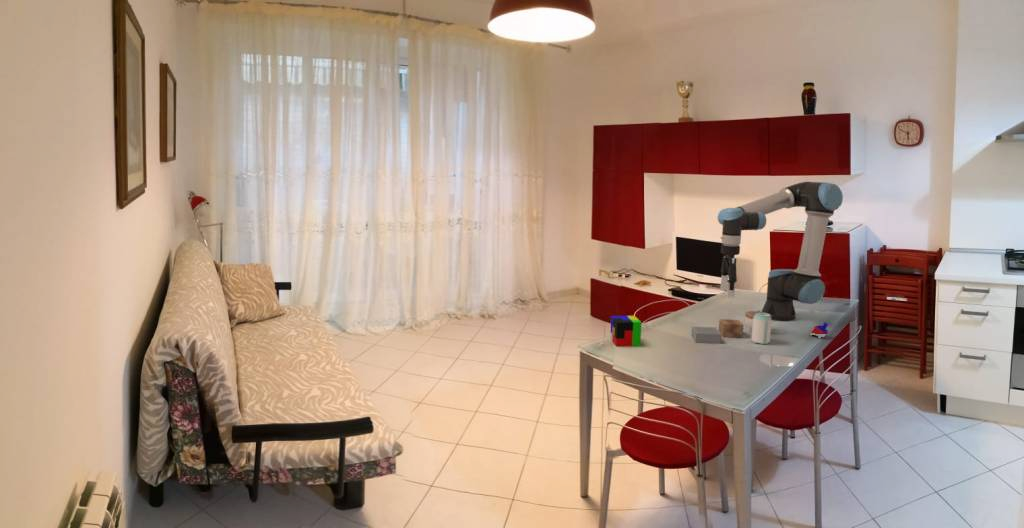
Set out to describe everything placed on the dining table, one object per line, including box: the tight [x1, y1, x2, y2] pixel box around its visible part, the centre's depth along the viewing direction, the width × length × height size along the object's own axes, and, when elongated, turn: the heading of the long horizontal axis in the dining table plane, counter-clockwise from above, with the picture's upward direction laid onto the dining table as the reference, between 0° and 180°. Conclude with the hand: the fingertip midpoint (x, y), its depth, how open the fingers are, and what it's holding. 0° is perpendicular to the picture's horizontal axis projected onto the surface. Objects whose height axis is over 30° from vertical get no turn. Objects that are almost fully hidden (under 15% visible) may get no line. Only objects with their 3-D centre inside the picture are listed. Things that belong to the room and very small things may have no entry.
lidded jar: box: [744, 310, 771, 333], centre depth 273 cm, size 11×11×9 cm
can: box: [751, 313, 773, 345], centre depth 258 cm, size 7×7×12 cm
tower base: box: [690, 326, 722, 344], centre depth 262 cm, size 10×10×4 cm
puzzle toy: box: [609, 315, 642, 347], centre depth 257 cm, size 10×10×10 cm
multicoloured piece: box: [810, 322, 829, 335], centre depth 265 cm, size 4×4×8 cm
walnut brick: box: [718, 318, 744, 339], centre depth 268 cm, size 8×8×6 cm
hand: (727, 293), depth 268 cm, fingers open, 13 cm apart
